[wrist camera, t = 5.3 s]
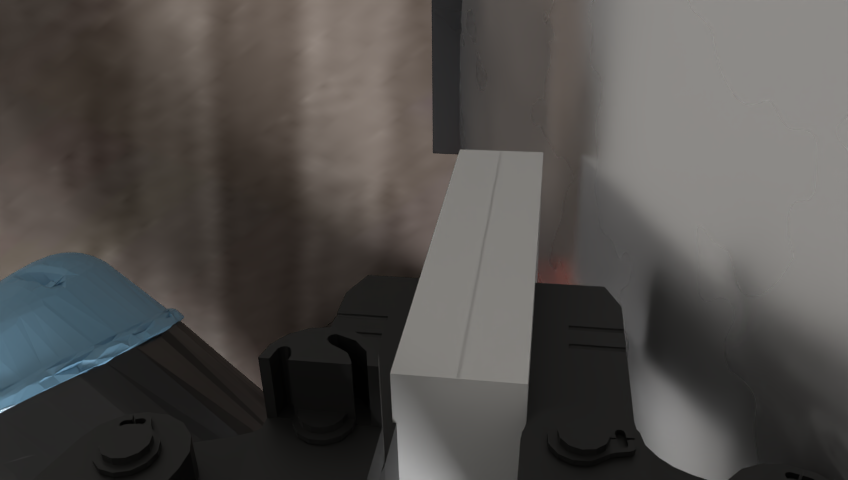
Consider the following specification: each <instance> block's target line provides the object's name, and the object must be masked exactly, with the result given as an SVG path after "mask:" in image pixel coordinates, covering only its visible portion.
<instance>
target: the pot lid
mask: <svg viewBox="0 0 848 480" xmlns="http://www.w3.org/2000/svg"><path fill="white" fill-rule="evenodd" d="M460 147H461V149H463V150H492V151H520V152H543V171H542V192H541V212H540V233H539V254H538V275H537V283H550V284H567V285H584V286H602V287H605V288H606V289H607V290H608V291H609V292H610V294H611V295H612V296H613V297H614V298H615V300H616V301H617V302H618V303H619V304H620V306H621V307H622V315H623V325H624V334H625V343H626V352H627V361H628V370H629V379H630V388H631V397H632V406H633V415H634V422H635V426H636V429H637V430H638V431H639V432H640V434H641V436H642V439H643V441H644V443H645V445H646V446H647V447H648V448H649V449H650V450H651V451H652V452H653V453H654V454H655V455H657V456H658V457H659V458H660V459H662V460H664V461H665V462H667V463H668V464H670V465H672V466H673V467H675V468H677V469H680V470H682V471H685V472H687V473H689V474H692V475H694V476H697V477H700V478H704V479H707V480H728V479H730V478H731V477H732V476H733V475H734V474H736V473H737V472H738V471H739V470H741V469H742V468H746V467H750V466H754V465H758V464H762V463H769V464H786V465H793V466H796V467H799V468H802V469H806V470H809V471H812V472H815V473H818V474H820V475H822V476H823V477H825V478H827V479H829V480H848V0H462V16H461V38H460Z"/></svg>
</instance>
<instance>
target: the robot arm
mask: <svg viewBox="0 0 848 480" xmlns="http://www.w3.org/2000/svg"><path fill="white" fill-rule="evenodd" d="M542 171H543V152H520V151H492V150H463V149H460V151H459V154H458V157H457V160H456V163H455V167H454V170H453V173H452V176H451V179H450V183H449V186H448V189H447V192H446V195H445V199H444V202H443V205H442V208H441V212H440V215H439V218H438V221H437V224H436V228H435V231H434V234H433V237H432V240H431V244H430V247H429V250H428V253H427V256H426V260H425V263H424V266H423V269H422V273H421V276H420V278H406V277H388V276H371V275H368V276H367V277H365V278H364V279H363V280H362V281H360V282H359V283H358V284H357V285H355V286H354V287H353V288H352V289H350V290H349V291H348V292H347V293H346V295H345V297H344V299H343V302H342V304H341V306H340V308H339V310H338V313H337V317H335V319H334V321H333V322H332V323H330V324H329V325H328V326H327V327H325V328H310V329H306V330H303V331H299V332H295V333H291V334H288V335H286V336H284V337H283V338H281V339H279V340H277V341H275V342H274V343H272V344H270V345H269V346H268V347H267V349H266V350H265V351H264V352H263V353H262V354H261V355H260V356H259V357H258V359H259V366H260V373H261V379H262V386H263V391H262V390H261V389H260V388H259V387H257V386H256V385H255V384H254V383H253V382H252V381H250V380H249V379H248V378H247V377H246V376H244V375H243V374H242V373H241V372H240V371H239V370H237V369H236V368H235V367H234V366H233V365H232V364H230V363H229V362H228V361H227V360H226V359H224V358H223V357H222V356H221V355H220V354H219V353H217V352H216V351H215V350H214V349H213V348H212V347H210V346H209V345H208V344H207V343H206V342H204V341H203V340H202V339H201V338H200V337H199V336H197V335H196V334H195V333H194V332H193V331H192V330H190V329H189V328H188V327H187V326H186V325H185V324H183V323H182V322H181V320H182V319H183V318H184V316H183V315H182V314H181V313H180V312H179V311H177V310H176V309H166V308H165V307H164V306H162V305H161V304H160V303H158V302H157V301H156V300H154V299H153V298H152V297H151V296H149V295H148V294H147V293H145V292H144V291H143V290H141V289H140V288H139V287H138V286H136V285H135V284H134V283H132V282H131V281H130V280H128V279H127V278H126V277H125V276H123V275H122V274H121V273H119V272H118V271H117V270H115V269H114V268H113V267H112V266H110V265H109V264H108V263H106V262H104V261H102V260H101V259H98V258H96V257H94V256H91V255H87V254H83V253H59V254H54V255H50V256H47V257H45V258H42V259H40V260H37V261H34V262H32V263H31V264H29V265H27V266H25V267H23V268H21V269H19V270H18V271H16V272H14V273H13V274H11V275H9V276H8V277H6V278H4V279H3V280H1V281H0V480H707V479H704V478H700V477H697V476H694V475H692V474H689V473H687V472H685V471H682V470H680V469H677V468H675V467H673V466H672V465H670V464H668V463H667V462H665V461H664V460H662V459H660V458H659V457H658V456H657V455H655V454H654V453H653V452H652V451H651V450H650V449H649V448H648V447H647V446H646V445H645V443H644V441H643V439H642V436H641V434H640V432H639V431H638V430H637V429H636V426H635V422H634V415H633V406H632V397H631V388H630V379H629V370H628V361H627V352H626V343H625V334H624V325H623V315H622V307H621V306H620V304H619V303H618V302H617V301H616V300H615V298H614V297H613V296H612V295H611V294H610V292H609V291H608V290H607V289H606V288H605V287H602V286H584V285H567V284H550V283H537V275H538V254H539V233H540V212H541V192H542ZM728 480H829V479H827V478H825V477H823V476H822V475H820V474H818V473H815V472H812V471H809V470H806V469H802V468H799V467H796V466H793V465H786V464H769V463H762V464H758V465H754V466H750V467H746V468H742V469H741V470H739V471H738V472H737V473H736V474H734V475H733V476H732V477H731V478H730V479H728Z"/></svg>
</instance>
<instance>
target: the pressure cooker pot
mask: <svg viewBox="0 0 848 480" xmlns="http://www.w3.org/2000/svg"><path fill="white" fill-rule="evenodd" d="M461 16H462V0H432V88H433V153H439V154H459V151H460V149H461V147H460V38H461Z"/></svg>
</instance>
